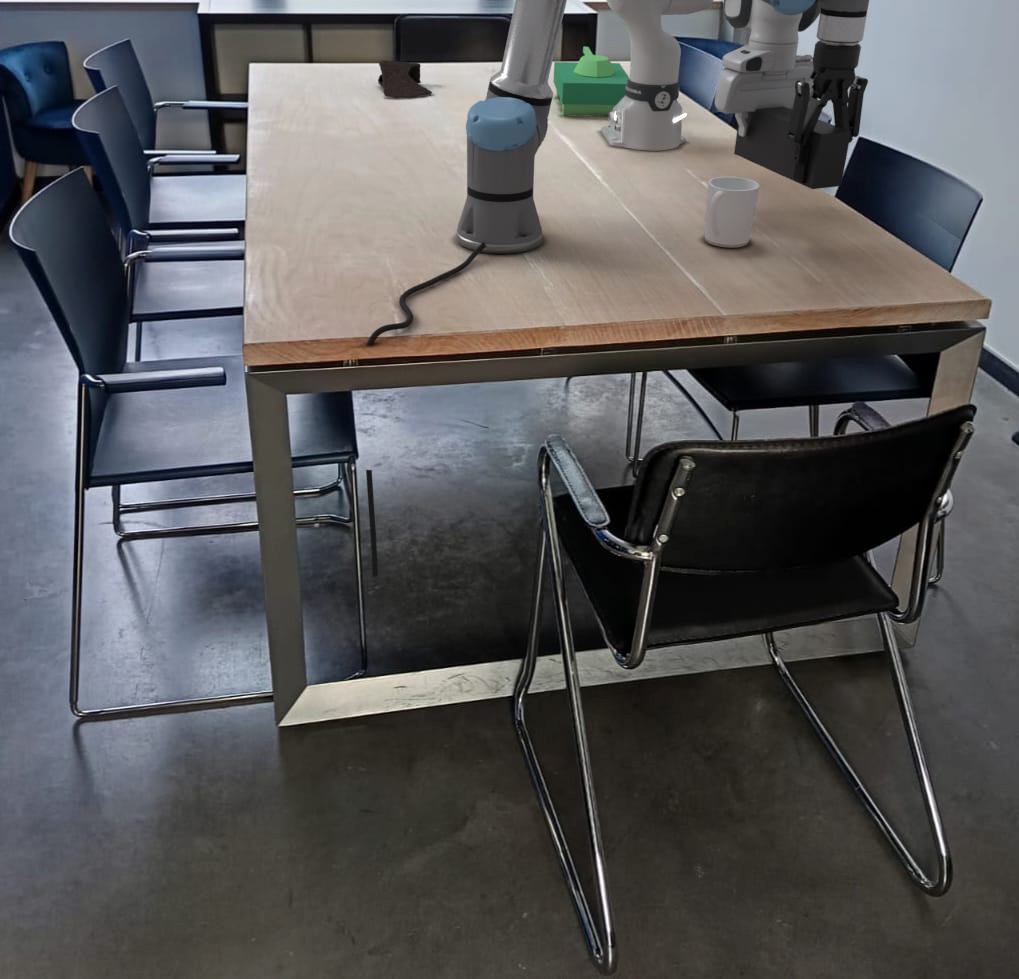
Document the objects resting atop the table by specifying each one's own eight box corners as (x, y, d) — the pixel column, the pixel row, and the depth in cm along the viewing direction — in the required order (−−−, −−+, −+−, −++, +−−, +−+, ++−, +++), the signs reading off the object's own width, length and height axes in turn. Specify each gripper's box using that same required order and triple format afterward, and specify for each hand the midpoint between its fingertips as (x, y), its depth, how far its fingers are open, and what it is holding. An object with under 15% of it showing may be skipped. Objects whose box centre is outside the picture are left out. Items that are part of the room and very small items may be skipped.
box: (841, 186, 194) (851, 131, 189) (812, 189, 192) (821, 134, 187) (761, 151, 214) (768, 100, 209) (734, 153, 211) (740, 103, 206)
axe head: (443, 87, 294) (392, 77, 287) (436, 115, 299) (385, 106, 292) (421, 62, 307) (371, 52, 300) (414, 89, 311) (365, 80, 304)
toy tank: (616, 43, 300) (635, 68, 271) (613, 90, 307) (630, 119, 277) (552, 42, 300) (564, 66, 270) (550, 88, 306) (561, 118, 276)
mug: (717, 229, 203) (724, 173, 198) (760, 239, 198) (768, 183, 193) (686, 243, 196) (692, 186, 190) (730, 255, 191) (737, 196, 186)
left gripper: (870, 35, 190) (846, 169, 202) (777, 40, 183) (758, 178, 195) (899, 42, 184) (872, 180, 196) (804, 48, 177) (782, 190, 189)
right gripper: (807, 51, 206) (796, 126, 214) (715, 56, 199) (706, 134, 207) (828, 57, 201) (816, 133, 209) (734, 63, 194) (724, 142, 202)
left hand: (815, 179), depth 195 cm, fingers closed on box, 6 cm apart
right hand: (760, 134), depth 208 cm, fingers closed on box, 6 cm apart
